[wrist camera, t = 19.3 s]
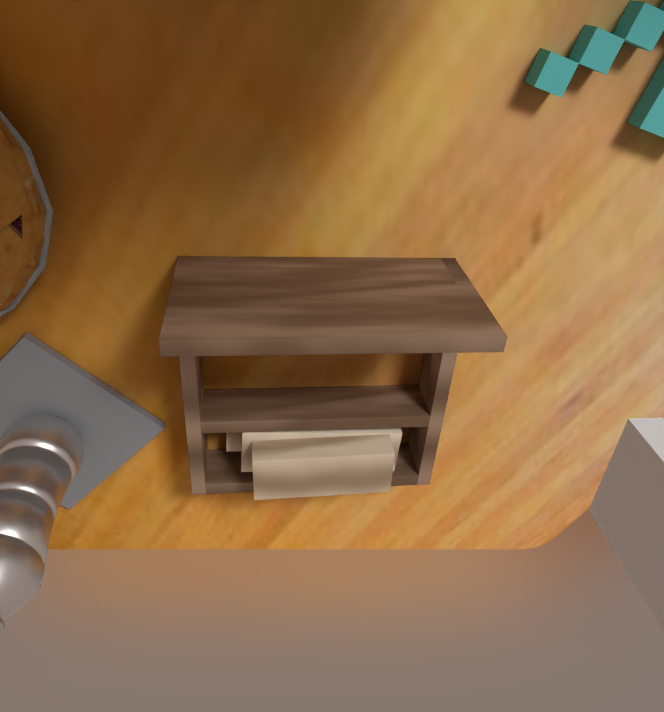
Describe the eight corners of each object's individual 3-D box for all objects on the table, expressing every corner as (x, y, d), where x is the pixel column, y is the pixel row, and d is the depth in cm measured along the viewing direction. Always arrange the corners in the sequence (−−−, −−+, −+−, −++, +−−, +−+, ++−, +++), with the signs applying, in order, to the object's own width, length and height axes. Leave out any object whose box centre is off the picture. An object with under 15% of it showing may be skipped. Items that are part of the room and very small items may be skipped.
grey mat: (-69, 429, 52) (-73, 435, 52) (26, 331, 48) (23, 337, 47) (71, 503, 59) (69, 509, 58) (165, 423, 55) (164, 429, 54)
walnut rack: (177, 256, 46) (158, 340, 36) (454, 258, 49) (507, 336, 39) (195, 459, 58) (185, 564, 48) (418, 451, 60) (451, 549, 51)
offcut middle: (242, 413, 53) (242, 432, 51) (396, 415, 55) (402, 433, 53) (241, 452, 55) (241, 471, 53) (388, 452, 57) (393, 471, 55)
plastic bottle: (69, 470, 55) (-6, 689, 39) (-5, 439, 53) (-119, 662, 36) (103, 425, 53) (39, 639, 37) (28, 391, 50) (-79, 605, 34)
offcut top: (252, 440, 51) (252, 461, 49) (389, 433, 53) (394, 453, 51) (254, 479, 54) (254, 500, 52) (384, 471, 55) (390, 491, 53)
